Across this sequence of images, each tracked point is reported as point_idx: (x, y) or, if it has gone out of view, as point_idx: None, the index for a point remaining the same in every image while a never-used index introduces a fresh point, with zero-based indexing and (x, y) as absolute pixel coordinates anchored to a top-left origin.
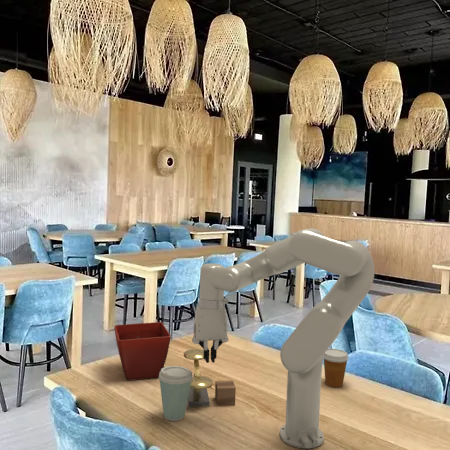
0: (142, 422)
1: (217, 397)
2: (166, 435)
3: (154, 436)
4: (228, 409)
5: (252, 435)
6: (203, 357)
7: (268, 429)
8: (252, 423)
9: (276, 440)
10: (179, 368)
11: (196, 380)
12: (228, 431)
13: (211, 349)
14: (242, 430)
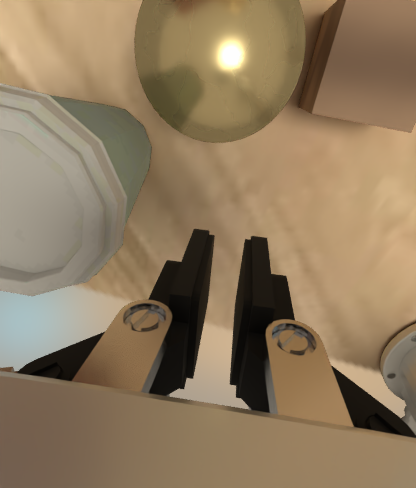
0: None
1: (304, 109)
2: None
3: None
4: (329, 150)
5: (319, 315)
6: (167, 264)
7: (382, 305)
8: (357, 264)
9: (366, 350)
10: (26, 139)
11: (204, 35)
12: None
13: (237, 334)
14: (305, 287)
